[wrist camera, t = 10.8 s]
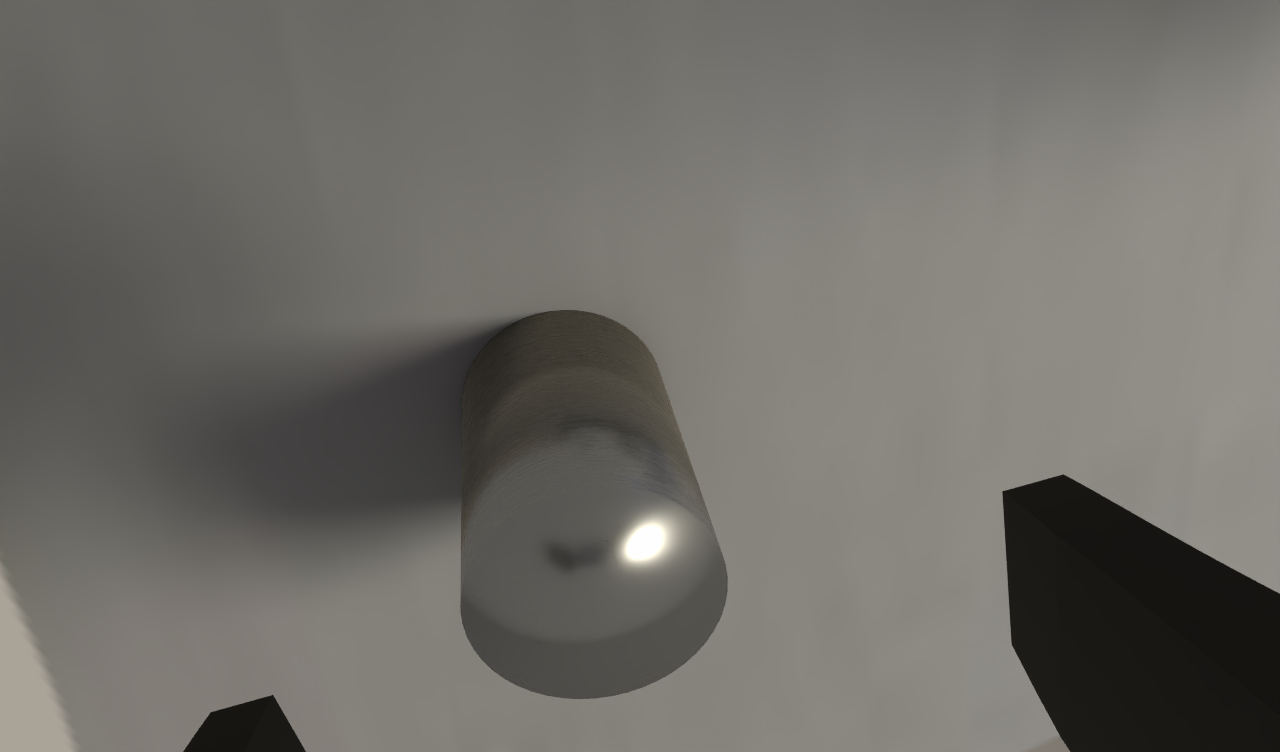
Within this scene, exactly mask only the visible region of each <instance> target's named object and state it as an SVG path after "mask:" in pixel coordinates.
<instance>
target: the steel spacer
mask: <svg viewBox="0 0 1280 752" xmlns="http://www.w3.org/2000/svg"><path fill="white" fill-rule="evenodd" d="M727 578H728V577H727V571H726V565H725V561H724V558H723V555H722V552H721V550H720V547H719V544H718V541H717V538H716V535H715V532H714V529H713V526H712V523H711V520H710V517H709V515H708V512H707V509H706V506H705V503H704V500H703V497H702V494H701V491H700V488H699V485H698V483H697V480H696V477H695V474H694V471H693V468H692V465H691V462H690V459H689V456H688V453H687V450H686V448H685V445H684V442H683V439H682V436H681V433H680V430H679V427H678V424H677V421H676V418H675V415H674V413H673V410H672V407H671V404H670V401H669V398H668V395H667V392H666V389H665V386H664V383H663V380H662V378H661V375H660V372H659V369H658V366H657V363H656V361H655V359H654V357H653V356H652V354H651V352H650V351H649V349H648V348H647V347H646V345H645V344H644V343H643V342H642V341H641V340H640V339H639V338H638V337H637V336H636V335H635V334H634V333H633V332H631V331H630V330H629V329H628V328H626V327H625V326H623V325H621V324H619V323H618V322H616V321H614V320H611V319H609V318H607V317H604V316H601V315H598V314H594V313H590V312H583V311H574V310H561V311H550V312H545V313H541V314H536V315H533V316H530V317H527V318H524V319H522V320H520V321H518V322H516V323H514V324H512V325H510V326H508V327H507V328H505V329H504V330H502V331H501V332H499V333H498V334H497V335H496V336H495V337H493V338H492V339H491V340H490V341H489V342H488V343H487V344H486V345H485V346H484V348H483V349H482V350H481V351H480V352H479V354H478V355H477V357H476V358H475V360H474V361H473V363H472V365H471V367H470V369H469V372H468V375H467V378H466V381H465V385H464V390H463V419H462V517H461V616H462V623H463V626H464V629H465V632H466V635H467V638H468V639H469V641H470V643H471V645H472V647H473V649H474V650H475V651H476V653H477V654H478V655H479V657H480V658H481V659H482V660H483V661H484V662H485V663H486V664H487V665H488V666H489V667H490V668H491V669H492V670H493V671H495V672H496V673H497V674H499V675H500V676H501V677H503V678H504V679H506V680H508V681H510V682H512V683H513V684H515V685H517V686H520V687H522V688H525V689H527V690H530V691H532V692H536V693H540V694H543V695H547V696H554V697H560V698H572V699H589V698H601V697H608V696H614V695H618V694H622V693H627V692H630V691H633V690H636V689H639V688H642V687H644V686H647V685H649V684H651V683H653V682H656V681H658V680H660V679H661V678H663V677H665V676H667V675H668V674H670V673H672V672H673V671H675V670H676V669H678V668H679V667H680V666H682V665H683V664H684V663H686V662H687V661H688V660H689V659H690V658H691V657H692V656H693V655H695V654H696V653H697V652H698V650H699V649H700V648H701V647H702V646H703V645H704V644H705V643H706V641H707V640H708V638H709V637H710V635H711V634H712V632H713V631H714V629H715V627H716V625H717V623H718V622H719V620H720V618H721V615H722V612H723V609H724V606H725V602H726V596H727Z"/></svg>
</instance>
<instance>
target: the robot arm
mask: <svg viewBox="0 0 1280 752" xmlns="http://www.w3.org/2000/svg"><path fill="white" fill-rule="evenodd" d="M1003 508H1004V525H1005V541H1006V558H1007V574H1008V591H1009V607H1010V624H1011V640H1012V646H1013V648H1014V650H1015V652H1016V654H1017V656H1018V657H1019V659H1020V661H1021V663H1022V665H1023V667H1024V669H1025V671H1026V673H1027V675H1028V677H1029V679H1030V681H1031V683H1032V685H1033V686H1034V688H1035V690H1036V692H1037V694H1038V696H1039V698H1040V700H1041V702H1042V703H1043V705H1044V707H1045V709H1046V711H1047V713H1048V714H1049V716H1050V718H1051V720H1052V722H1053V724H1054V725H1055V727H1056V729H1057V731H1058V733H1059V735H1060V736H1061V738H1062V740H1063V741H1064V743H1065V744H1066V746H1067V747H1068V749H1069V750H1070V752H1280V594H1279V593H1277V592H1275V591H1273V590H1271V589H1269V588H1268V587H1266V586H1264V585H1262V584H1260V583H1258V582H1256V581H1254V580H1252V579H1251V578H1249V577H1247V576H1245V575H1243V574H1241V573H1239V572H1237V571H1236V570H1234V569H1232V568H1230V567H1228V566H1226V565H1224V564H1223V563H1221V562H1219V561H1217V560H1215V559H1213V558H1212V557H1210V556H1208V555H1206V554H1204V553H1202V552H1201V551H1199V550H1197V549H1195V548H1193V547H1192V546H1190V545H1188V544H1186V543H1185V542H1183V541H1181V540H1179V539H1177V538H1176V537H1174V536H1172V535H1170V534H1168V533H1167V532H1165V531H1163V530H1161V529H1160V528H1158V527H1156V526H1154V525H1152V524H1151V523H1149V522H1147V521H1145V520H1144V519H1142V518H1140V517H1138V516H1137V515H1135V514H1133V513H1131V512H1130V511H1128V510H1126V509H1124V508H1123V507H1121V506H1119V505H1117V504H1116V503H1114V502H1112V501H1110V500H1108V499H1107V498H1105V497H1103V496H1101V495H1100V494H1098V493H1096V492H1094V491H1093V490H1091V489H1089V488H1087V487H1085V486H1084V485H1082V484H1080V483H1078V482H1076V481H1075V480H1073V479H1071V478H1069V477H1067V476H1065V475H1060V476H1056V477H1053V478H1049V479H1046V480H1042V481H1038V482H1035V483H1031V484H1028V485H1024V486H1021V487H1017V488H1013V489H1010V490H1006V491H1003ZM184 752H306V751H305V749H304V748H303V746H302V744H301V743H300V741H299V739H298V737H297V736H296V734H295V732H294V730H293V729H292V727H291V725H290V723H289V722H288V720H287V718H286V717H285V715H284V713H283V711H282V710H281V708H280V706H279V704H278V703H277V701H276V699H275V698H274V696H273V695H271V696H268V697H264V698H261V699H257V700H253V701H250V702H246V703H243V704H239V705H235V706H232V707H228V708H225V709H221V710H218V711H214V712H211V713H210V714H209V716H208V717H207V718H206V720H205V721H204V723H203V724H202V725H201V727H200V728H199V730H198V731H197V732H196V734H195V735H194V737H193V738H192V740H191V741H190V743H189V744H188V746H187V747H186V749H185V750H184Z"/></svg>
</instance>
